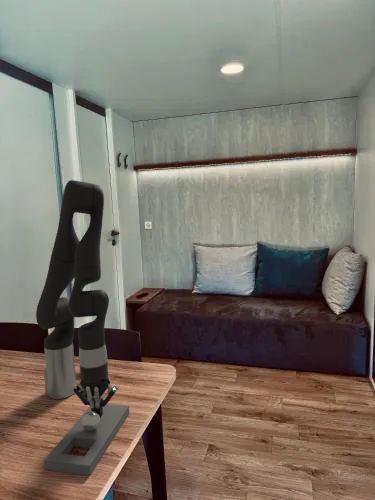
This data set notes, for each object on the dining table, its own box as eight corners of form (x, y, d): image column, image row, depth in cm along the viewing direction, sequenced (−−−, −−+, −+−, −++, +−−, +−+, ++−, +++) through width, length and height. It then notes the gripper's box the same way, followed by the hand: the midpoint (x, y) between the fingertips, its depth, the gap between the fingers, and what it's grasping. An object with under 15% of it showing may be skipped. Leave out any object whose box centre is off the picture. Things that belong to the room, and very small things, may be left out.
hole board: (44, 469, 87) (44, 460, 87) (93, 410, 112) (92, 403, 112) (90, 475, 85) (89, 465, 84) (129, 413, 110) (128, 405, 110)
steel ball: (85, 430, 100) (76, 430, 95) (88, 410, 102) (80, 410, 97) (101, 431, 99) (93, 432, 94) (104, 412, 101) (96, 411, 96)
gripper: (64, 365, 97) (69, 424, 99) (110, 368, 94) (114, 428, 97) (77, 353, 104) (82, 409, 107) (120, 355, 102) (124, 412, 104)
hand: (97, 418), depth 102 cm, fingers closed
